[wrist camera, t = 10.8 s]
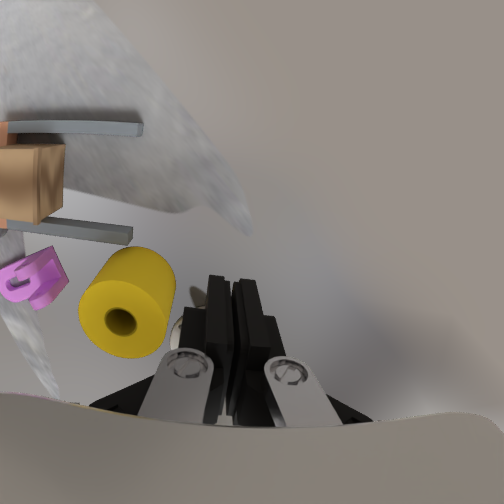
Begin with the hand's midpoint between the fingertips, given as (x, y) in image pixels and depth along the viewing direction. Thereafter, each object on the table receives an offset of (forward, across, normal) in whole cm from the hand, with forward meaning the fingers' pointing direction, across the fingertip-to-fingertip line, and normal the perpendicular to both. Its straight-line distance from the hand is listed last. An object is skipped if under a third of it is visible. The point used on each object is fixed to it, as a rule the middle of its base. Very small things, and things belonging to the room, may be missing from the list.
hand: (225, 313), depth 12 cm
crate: (+27, +24, +1) cm, 36 cm away
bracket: (+28, +26, +16) cm, 41 cm away
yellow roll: (+27, +9, +14) cm, 32 cm away
